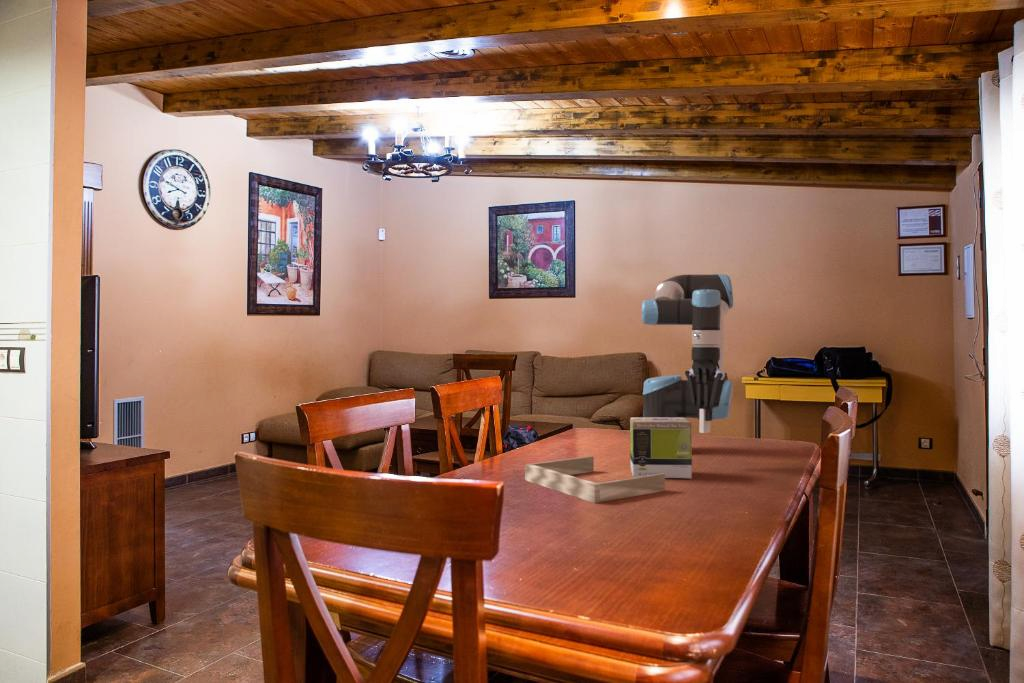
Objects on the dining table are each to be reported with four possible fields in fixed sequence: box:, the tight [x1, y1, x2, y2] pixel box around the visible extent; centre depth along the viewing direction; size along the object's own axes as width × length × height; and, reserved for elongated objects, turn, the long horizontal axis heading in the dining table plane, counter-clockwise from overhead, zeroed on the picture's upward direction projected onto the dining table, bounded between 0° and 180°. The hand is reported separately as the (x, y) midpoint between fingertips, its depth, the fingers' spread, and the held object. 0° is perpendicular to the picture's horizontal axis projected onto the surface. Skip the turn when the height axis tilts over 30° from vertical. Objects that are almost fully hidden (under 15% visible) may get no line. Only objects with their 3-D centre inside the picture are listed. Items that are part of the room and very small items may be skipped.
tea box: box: [629, 416, 693, 479], centre depth 187 cm, size 15×10×15 cm, turn 84°
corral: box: [524, 455, 666, 504], centre depth 174 cm, size 27×22×4 cm
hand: (704, 432), depth 196 cm, fingers closed
